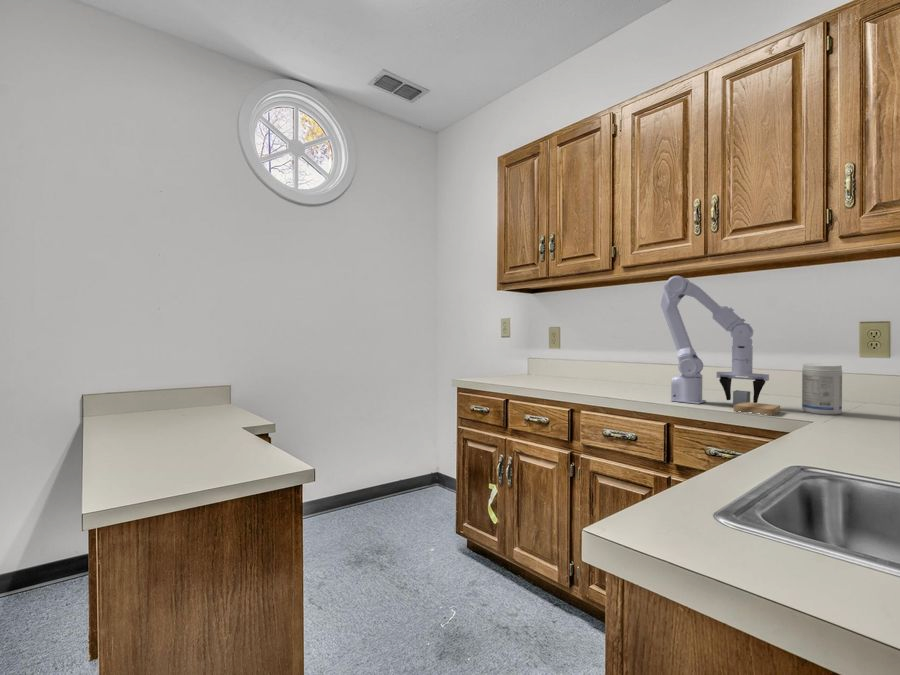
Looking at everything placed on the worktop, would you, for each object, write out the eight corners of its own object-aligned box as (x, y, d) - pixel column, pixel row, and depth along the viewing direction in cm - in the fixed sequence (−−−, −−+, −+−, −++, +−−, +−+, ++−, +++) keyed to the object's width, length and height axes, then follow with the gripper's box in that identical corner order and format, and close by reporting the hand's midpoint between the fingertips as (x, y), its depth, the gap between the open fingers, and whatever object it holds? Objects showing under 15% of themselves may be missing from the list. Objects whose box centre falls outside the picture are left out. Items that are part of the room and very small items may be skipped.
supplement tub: (817, 409, 146) (818, 363, 146) (850, 414, 137) (851, 365, 137) (793, 410, 144) (794, 363, 144) (825, 416, 135) (826, 365, 135)
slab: (733, 411, 142) (733, 405, 142) (742, 407, 149) (742, 401, 149) (772, 416, 135) (772, 409, 135) (780, 411, 142) (780, 405, 142)
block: (732, 406, 152) (733, 391, 151) (736, 405, 154) (736, 390, 154) (746, 408, 149) (747, 392, 149) (750, 406, 152) (750, 391, 151)
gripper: (771, 360, 149) (770, 402, 149) (721, 358, 159) (720, 397, 159) (766, 361, 144) (765, 404, 144) (714, 359, 154) (714, 399, 155)
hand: (741, 401), depth 151 cm, fingers open, 7 cm apart
